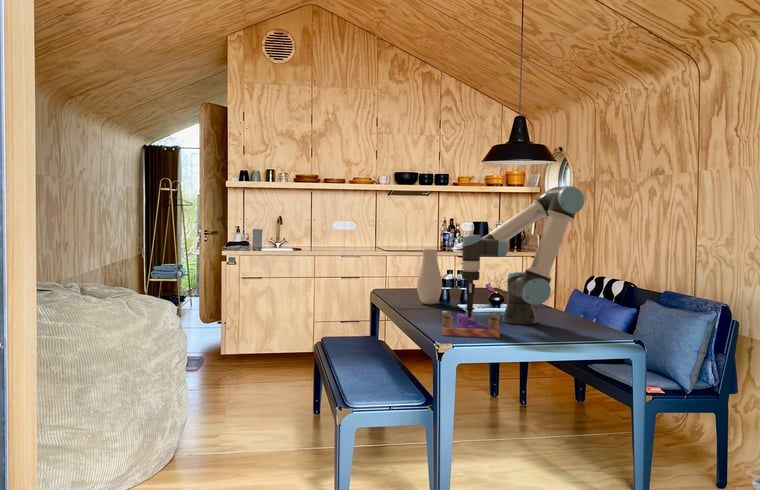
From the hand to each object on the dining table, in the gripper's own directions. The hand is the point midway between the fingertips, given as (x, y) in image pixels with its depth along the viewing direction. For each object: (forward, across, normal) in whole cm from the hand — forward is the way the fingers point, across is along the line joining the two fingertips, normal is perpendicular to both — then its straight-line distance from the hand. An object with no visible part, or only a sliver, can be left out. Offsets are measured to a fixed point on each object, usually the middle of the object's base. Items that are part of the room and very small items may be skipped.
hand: (469, 324), depth 265 cm
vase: (+2, -68, -22) cm, 71 cm away
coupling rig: (+2, +10, 0) cm, 10 cm away
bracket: (+2, +4, +2) cm, 4 cm away
